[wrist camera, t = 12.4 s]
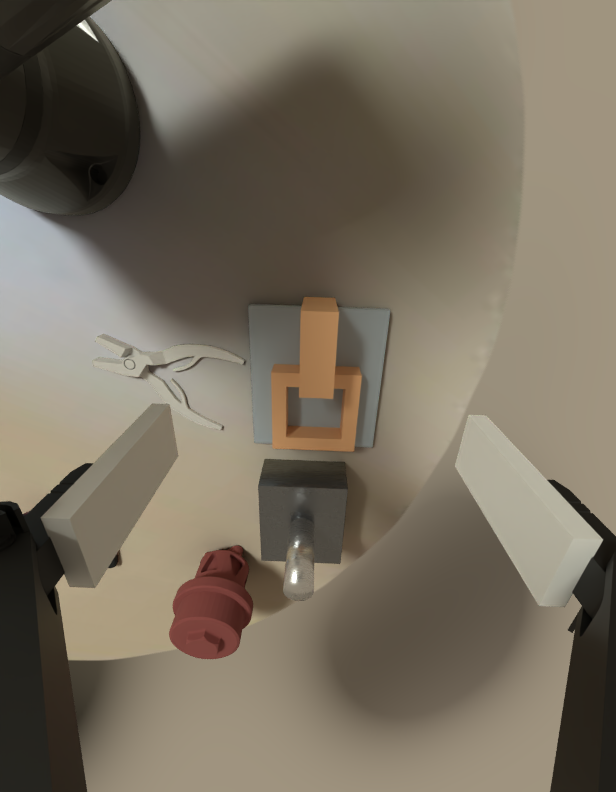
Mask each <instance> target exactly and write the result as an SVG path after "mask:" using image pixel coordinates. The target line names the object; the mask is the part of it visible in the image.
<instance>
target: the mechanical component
mask: <svg viewBox="0 0 616 792" xmlns="http://www.w3.org/2000/svg"><path fill="white" fill-rule="evenodd" d="M242 553H243V548H242V547H240V546H233V547H232V548H230V549H228V550H217V551H212V552H207V553H206V554H205V556H204V557H203V558H202V560H201V562H200V566H199V568H198V571H197V573H196V576H195V579H192V580H189V581H187V582H186V583H184V584H183V585H182V586H181V587H180V588H179V589H178V591H177V594H176V596H175V599H174V601H173V612H174V614H175V618H174V620H173V623H172V626H171V628H170V632H169V636H170V640H171V642H172V643H173V644H174V646H176V647H177V648H178V649H179V650H181V651H182V652H184V653H186V654H188V655H190V656H193V657H197V658H201V659H217V658H222V657H226V656H228V655H230V654H232V653H234V652H235V651H236V650H237V648H238V647H239V644H240V639H241V633H242V629H244V628H245V627H246V626H247V625H248V624H249V622H250V620H251V616H252V610H253V601H252V598H251V596H250V595H249V593H248V592H247V591H246V590H245V584H246V581H247V577H248V573H249V566H248V563H247V562H246V560H245V559H244V558H243V557H242Z"/></svg>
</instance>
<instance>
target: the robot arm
mask: <svg viewBox="0 0 616 792" xmlns="http://www.w3.org/2000/svg"><path fill="white" fill-rule="evenodd" d="M110 1H112V0H0V194H1V195H2V196H4V197H6V198H8V199H10V200H12V201H14V202H16V203H18V204H20V205H22V206H25V207H28V208H31V209H34V210H37V211H41V212H45V213H51V214H61V215H85V214H90V213H93V212H96V211H99V210H101V209H103V208H105V207H106V206H108V205H109V204H111V203H112V202H113V201H114V200H116V199H117V198H118V197H119V196H120V194H121V193H122V192H123V191H124V189H125V188H126V186H127V184H128V183H129V181H130V179H131V177H132V174H133V172H134V169H135V166H136V162H137V158H138V152H139V142H140V127H139V116H138V110H137V104H136V100H135V96H134V92H133V89H132V86H131V83H130V80H129V77H128V75H127V73H126V70H125V68H124V66H123V64H122V62H121V60H120V58H119V56H118V54H117V52H116V51H115V49H114V47H113V46H112V44H111V43H110V41H109V40H108V38H107V37H106V35H105V34H104V33H103V32H102V30H101V29H100V28H99V26H98V25H97V24H96V23H95V22H94V21H93V20H92V19H91V18H90V17H89V16H91V15H92V14H93V13H95V12H96V11H98V10H99V9H100V8H102V7H103V6H105V5H106V4H107V3H109V2H110ZM177 457H178V451H177V445H176V439H175V433H174V427H173V421H172V415H171V409H170V404H151V405H150V407H149V408H148V409H147V410H146V411H145V412H144V413H143V414H142V415H141V416H140V417H139V418H138V419H137V420H136V421H135V422H134V423H133V424H132V425H131V426H130V427H129V428H128V429H127V430H126V431H125V432H124V433H123V434H122V435H121V436H120V437H119V438H118V439H117V440H116V441H115V442H114V443H113V444H112V445H111V446H110V447H109V448H108V449H107V450H106V451H105V452H104V453H103V454H102V456H101V457H100V458H99V459H98V460H97V461H96V462H95V463H94V464H92V463H85V464H84V465H82V466H80V467H78V468H77V469H75V470H73V471H72V472H70V473H69V474H68V475H67V476H66V477H65V478H64V479H63V480H62V481H61V482H60V484H59V485H57V486H56V487H55V488H54V489H53V490H51V493H50V494H47V495H46V496H45V497H44V498H43V499H42V500H41V501H40V502H39V503H38V504H37V505H36V506H35V507H34V508H33V509H32V510H31V511H30V512H29V513H28V514H26V515H25V516H23V514H22V512H21V510H20V508H19V506H18V504H17V503H14V502H11V501H8V502H0V792H87V787H86V780H85V774H84V767H83V760H82V753H81V747H80V739H79V733H78V726H77V719H76V712H75V705H74V699H73V692H72V685H71V678H70V671H69V664H68V657H67V651H66V644H65V637H64V630H63V623H62V617H61V610H60V603H59V596H58V592H57V589H56V587H55V585H56V584H57V582H58V581H59V580H60V578H61V577H62V576H63V574H64V575H65V577H66V579H67V582H68V584H69V586H70V587H86V588H96V586H97V584H98V583H99V581H100V580H101V578H102V576H103V575H104V573H105V572H106V570H107V568H108V567H109V565H110V564H111V562H112V560H113V559H114V557H115V556H116V554H117V553H118V551H119V549H120V548H121V546H122V545H123V543H124V541H125V540H126V538H127V537H128V535H129V533H130V532H131V530H132V529H133V527H134V525H135V524H136V522H137V521H138V519H139V518H140V516H141V514H142V513H143V511H144V510H145V508H146V506H147V505H148V503H149V502H150V500H151V498H152V497H153V495H154V494H155V492H156V491H157V489H158V487H159V486H160V484H161V483H162V481H163V479H164V478H165V476H166V475H167V473H168V471H169V470H170V468H171V467H172V465H173V463H174V462H175V460H176V459H177ZM455 467H456V469H457V471H458V472H459V474H460V475H461V477H462V479H463V481H464V482H465V484H466V485H467V487H468V489H469V491H470V492H471V494H472V496H473V497H474V499H475V501H476V502H477V504H478V505H479V507H480V509H481V511H482V512H483V514H484V515H485V517H486V519H487V521H488V522H489V524H490V525H491V527H492V529H493V531H494V532H495V534H496V536H497V537H498V539H499V540H500V542H501V544H502V546H503V547H504V549H505V551H506V552H507V554H508V556H509V557H510V558H511V560H512V562H513V564H514V565H515V567H516V569H517V570H518V572H519V574H520V575H521V577H522V579H523V580H524V582H525V584H526V585H527V587H528V589H529V590H530V592H531V594H532V595H533V597H534V599H535V600H536V602H537V604H538V605H539V606H552V607H565V606H566V604H567V603H568V601H569V599H570V597H571V596H572V594H574V595H575V597H576V598H577V599H578V601H579V602H580V604H581V605H582V607H581V609H580V610H579V612H578V614H577V615H576V617H575V619H574V620H573V622H572V624H571V625H570V627H569V629H568V631H570V632H572V633H573V631H574V630H575V633H574V640H573V646H572V653H571V659H570V666H569V673H568V680H567V685H566V692H565V699H564V706H563V711H562V718H561V725H560V731H559V738H558V744H557V751H556V757H555V764H554V771H553V777H552V783H551V790H550V792H616V536H615V535H614V534H613V533H612V532H611V531H610V530H609V529H608V528H607V527H606V526H605V525H604V524H603V523H602V522H601V521H600V520H599V519H598V518H597V517H596V516H595V515H594V514H593V513H590V510H589V509H588V508H587V507H586V506H585V505H584V504H581V501H580V500H579V499H578V498H577V497H576V496H575V495H574V494H573V493H572V492H571V491H570V490H569V489H567V488H565V487H564V486H563V485H561V484H559V483H558V482H556V481H555V480H546V479H545V478H544V476H543V475H542V474H541V473H540V472H539V471H538V470H537V469H536V468H535V467H534V466H533V465H532V464H531V463H530V462H529V461H528V460H527V459H526V457H525V456H524V455H523V454H522V453H521V452H520V451H519V450H518V449H517V448H516V447H515V446H514V445H513V444H512V443H511V442H510V440H509V439H508V438H507V437H506V436H505V435H504V434H503V433H502V432H501V431H500V430H499V429H498V428H497V427H496V426H495V424H494V423H493V422H492V421H491V420H490V419H489V418H488V417H487V416H482V415H468V420H467V423H466V426H465V430H464V434H463V438H462V441H461V445H460V449H459V453H458V457H457V460H456V464H455Z"/></svg>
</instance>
